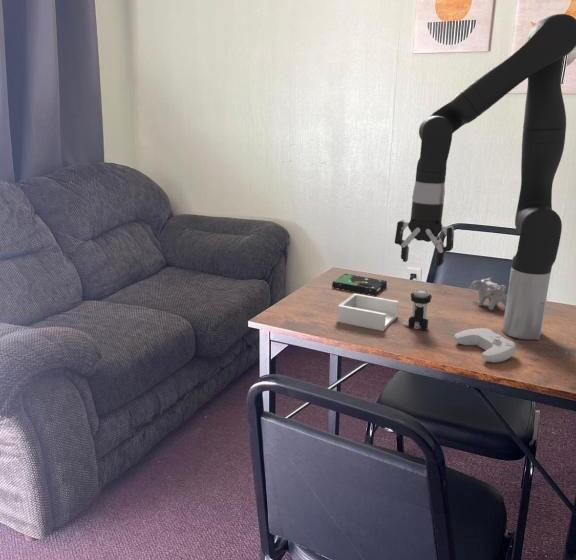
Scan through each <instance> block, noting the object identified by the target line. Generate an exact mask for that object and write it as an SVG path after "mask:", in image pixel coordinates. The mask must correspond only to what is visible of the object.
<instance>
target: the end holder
mask: <svg viewBox="0 0 576 560" xmlns="http://www.w3.org/2000/svg"><path fill="white" fill-rule="evenodd" d="M398 312H399V300H393V299H388V298H383V297H377V296H373V295H367V294H362V293H356V292H353V294H352V295H350V296H349V297H348V298H346V299H345V300H344V301H342V302H341V303H340V304H338V305H337V316H336V317H337V318H336V321H337V323H342V324H347V325H352V326H357V327H361V328H367V329H372V330H377V331H382V332H384V331H385V330H386V329H387V328H388V327H389V326H390V325H391V324H392V323H393V322H394V321H395V320H396V318H398V314H399V313H398Z"/></svg>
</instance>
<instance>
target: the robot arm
mask: <svg viewBox="0 0 576 560" xmlns="http://www.w3.org/2000/svg"><path fill="white" fill-rule="evenodd" d="M526 40H527V41H526V42H525V43H524V44H523V45H522V46H521V47H520V48H518V49H517V50H516V51H515V52H514V53H513V54H512V55H510V56H509V57H507V58H506V59H505V60H502V62H500V63H499V64H498V65H496V66H495V67H492V69H489V70H488V71H487V72H485V73H484V74H482V75H481V76H479V77H478V78H477V79H476V80H474V81H473V82H471V83H470V84H469V85H468V86H466V87H465V88H464V89H463V90H461V91H460V92H459V93H457V94H456V95H455V96H454V97H453V98H452V99H451V100H450V101H448V102H447V103H446V104H444V105H443V106H441V107H440V108H438V109H436V110H435V111H434V112H433V113H431V114H430V115H428V116H427V117H426V118H425V119H424V120H423V121H422V122H421V123H420V125H419V129H418V135H419V136H418V137H419V138H420V140H421V144H420V156H419V159H418V161H417V163H416V171H415V172H416V173H415V180H414V181H415V182H414V185H413V190H412V196H411V197H412V201H411V211H410V220H409V221H405V220H404V219H401V220H399V221H397V223H396V231H395V237H394V244H396V245H399V246H400V247H401V249H400V250H401V251H400V259H401V260H402V262H403V263H407V262H408V260H409V250H410V247H409V245H410V244H411V242H413V241H414V240H416V241H419V242H420V241H421V242H422V241H424V242H427V243H429V242H431V243H432V244H433V246H434V247H435V248H436V249H437V251H438V252H437V253H436V254H437V256H436V262H435V263H436V265H435V267H437V268H440V267H441V266H442V265H443V264H444V261H445V253H447V252H451V250H453V249H454V240H455V239H454V238H455V237H454V236H455V227H454V226H453V225H449V226H443V223H442V222H443V221H442V220H443V211H444V205H445V203H444V202H445V195H446V193H445V192H446V190H445V189H446V187H445V186H446V184H445V183H446V176H447V163H448V158H449V155H450V149H451V146H452V139H453V134H454V133H455V132H456V131H457V130H459V129H460V128H461V127H463V126H465V125H467V124H469V123H471V122H472V121H475V120H476V119H477V118H479V117H480V116H481V115H482V114H483V113H485V112H486V111H488V109H490V108H491V107H493V105H495V104H496V103H497V102H499V101H500V100H502V98H504V97H505V96H506V95H507V94H508V93H510V92H512V90H514V89H515V88H516V87H518V86H519V85H520V84H521V83H523V82H524V81H525V80H527V87H526V89H527V90H526V97H525V98H526V99H525V104H524V117H523V127H522V137H521V139H522V140H521V160H520V161H521V166H520V170H521V171H520V172H521V174H520V175H521V176H520V177H521V179H520V191H519V196H518V202H517V207H516V213H515V216H514V217H515V219H514V225H515V229H516V231H517V233H518V234H519V238H518V243H517V244H518V245H517V250H516V253H515V255H514V256H513V257H512V260H511V267H510V274H509V280H508V281H509V282H508V285H507V286H508V289H507V294H506V295H507V300H506V306H504V308H505V309H504V314H503V315H504V316H503V321H502V329H501V330H502V332H503V333H504V334H505V335H506V336H508V337H512V338H516V339H520V340H537V341H540V338H541V334H542V331H543V329H542V328H543V323H544V319H545V318H544V317H545V313H546V312H545V311H546V306H547V301H548V299H547V297H548V292H549V285H550V279H551V275H552V274H551V272H552V267H553V265H554V264H555V262H556V260H557V255H558V251H559V246H560V242H561V235H562V231H563V230H562V226H563V224H562V220H561V217H560V216H559V214H558V213H557V212H556V211H555V210H553V207H552V203H553V202H552V201H553V200H552V193H553V185H554V184H553V183H554V179H555V176H556V173H557V171H558V168H559V166H560V163H561V160H562V157H563V152H564V151H565V150H564V149H565V144H566V143H565V141H566V132H567V129H566V128H567V114H566V106H565V102H564V98H563V97H564V96H563V93H562V92H563V91H562V73H563V64H564V58H565V57H566V56H567V55H569V54H570V53H572V52H573V50H574V49H575V48H576V17H574V16H573V15H570V14H566V13H558V14H553V15H550V16H547V17H546V18H543V19H541V20H539V21H538V22H536V23H535V24H534V25H533V26H532V28H531V29H530V31H529V33H528V37H527V39H526ZM407 228H408V229H409V231H410V234H409V235H408V236H407V237H406V239H403V236H404V230H406V229H407ZM441 232H443V235H444V236H446V242H445V243H446V245H445V244H444V243H443V241H442V239H441V236H440V234H441Z"/></svg>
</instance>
